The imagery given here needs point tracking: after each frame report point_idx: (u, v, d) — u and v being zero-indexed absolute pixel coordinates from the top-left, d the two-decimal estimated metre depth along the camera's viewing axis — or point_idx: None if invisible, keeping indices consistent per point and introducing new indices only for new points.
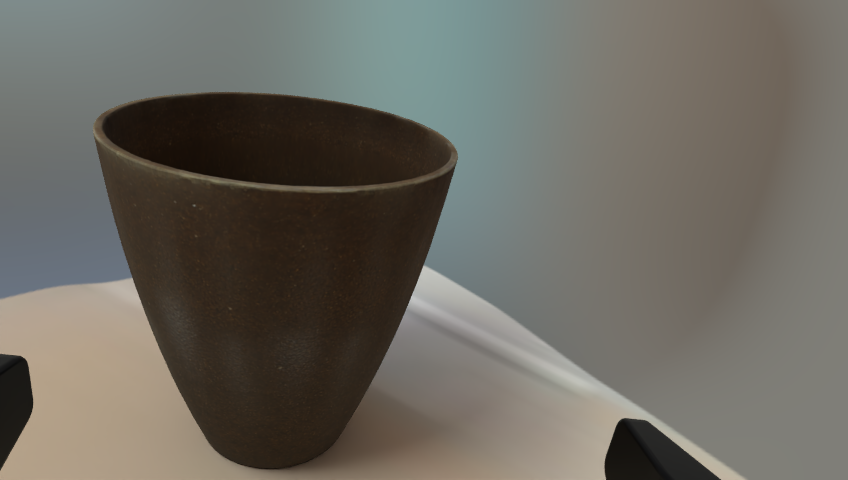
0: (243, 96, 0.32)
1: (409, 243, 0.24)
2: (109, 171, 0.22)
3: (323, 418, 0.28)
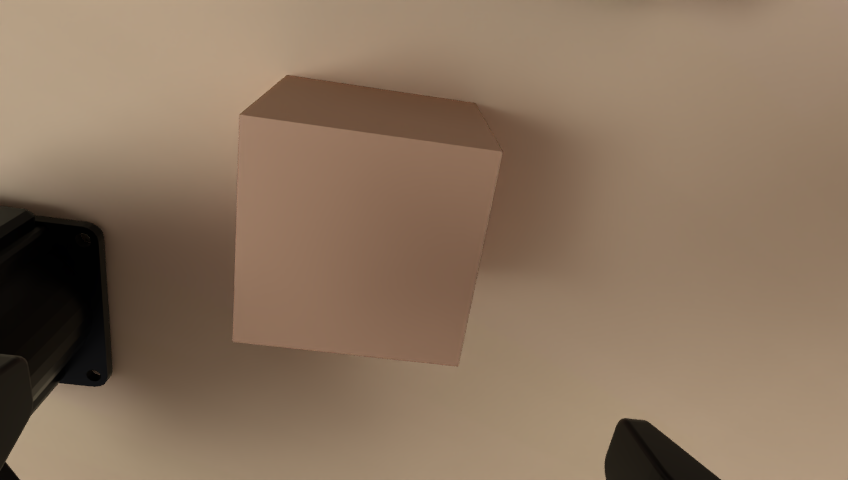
0: None
1: None
2: None
3: None
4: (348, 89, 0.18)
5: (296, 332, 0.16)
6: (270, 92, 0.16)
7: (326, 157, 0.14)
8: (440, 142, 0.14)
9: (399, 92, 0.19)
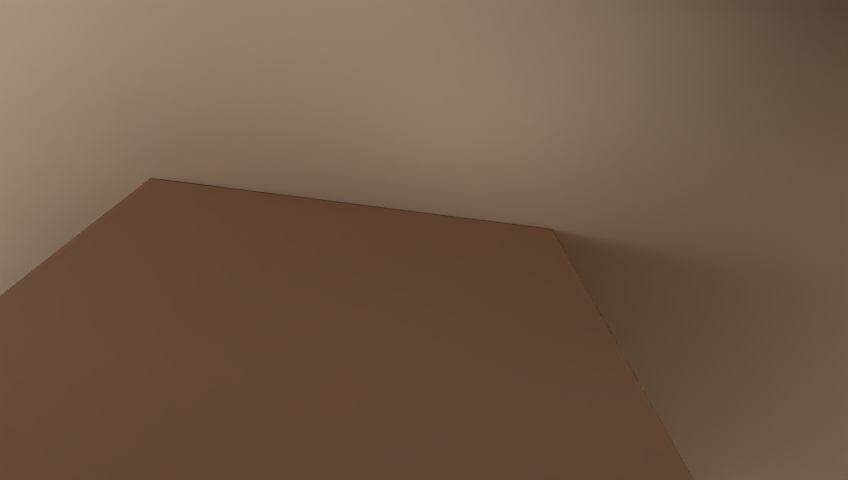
0: None
1: None
2: None
3: None
4: (276, 220, 0.08)
5: None
6: (38, 275, 0.06)
7: None
8: None
9: (393, 214, 0.09)
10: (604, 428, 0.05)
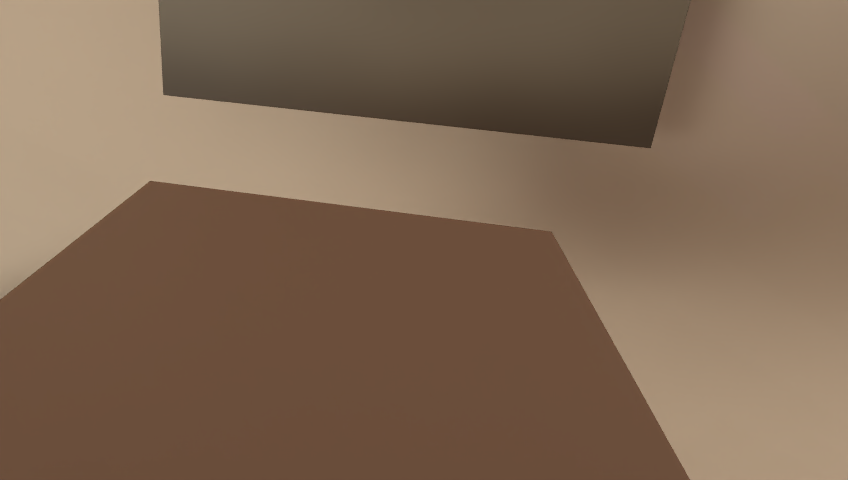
0: None
1: None
2: None
3: None
4: (275, 222, 0.08)
5: None
6: (38, 279, 0.06)
7: None
8: None
9: (392, 216, 0.09)
10: (603, 432, 0.05)
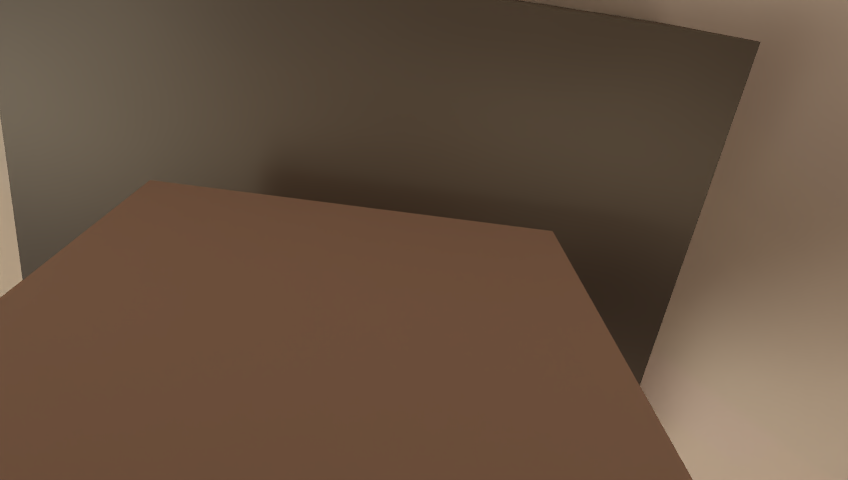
0: None
1: None
2: None
3: None
4: (276, 221, 0.08)
5: None
6: (37, 278, 0.06)
7: None
8: None
9: (393, 215, 0.09)
10: (605, 431, 0.05)
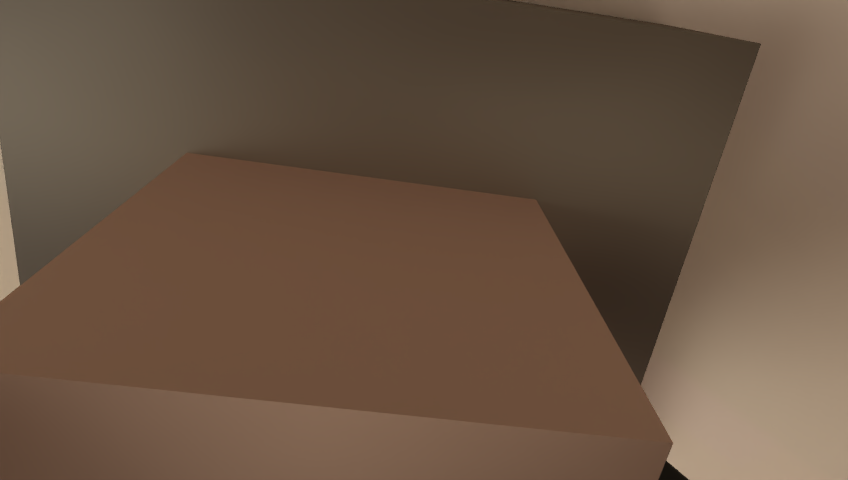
0: None
1: None
2: None
3: None
4: (297, 187, 0.09)
5: None
6: (109, 222, 0.07)
7: (186, 460, 0.05)
8: (503, 422, 0.05)
9: (397, 184, 0.10)
10: (566, 337, 0.06)
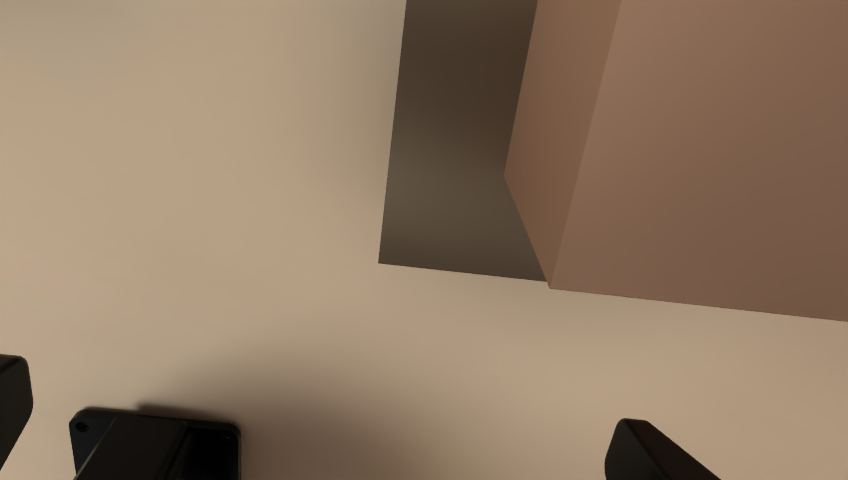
0: None
1: None
2: None
3: None
4: None
5: (650, 273, 0.10)
6: None
7: None
8: None
9: None
10: None
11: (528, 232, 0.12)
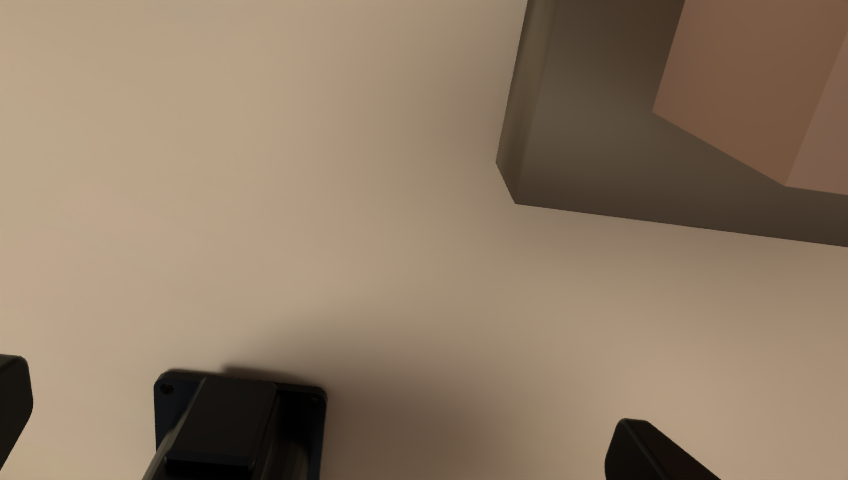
0: None
1: None
2: None
3: None
4: None
5: None
6: None
7: None
8: None
9: None
10: None
11: (722, 148, 0.12)
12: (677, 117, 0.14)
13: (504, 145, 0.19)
